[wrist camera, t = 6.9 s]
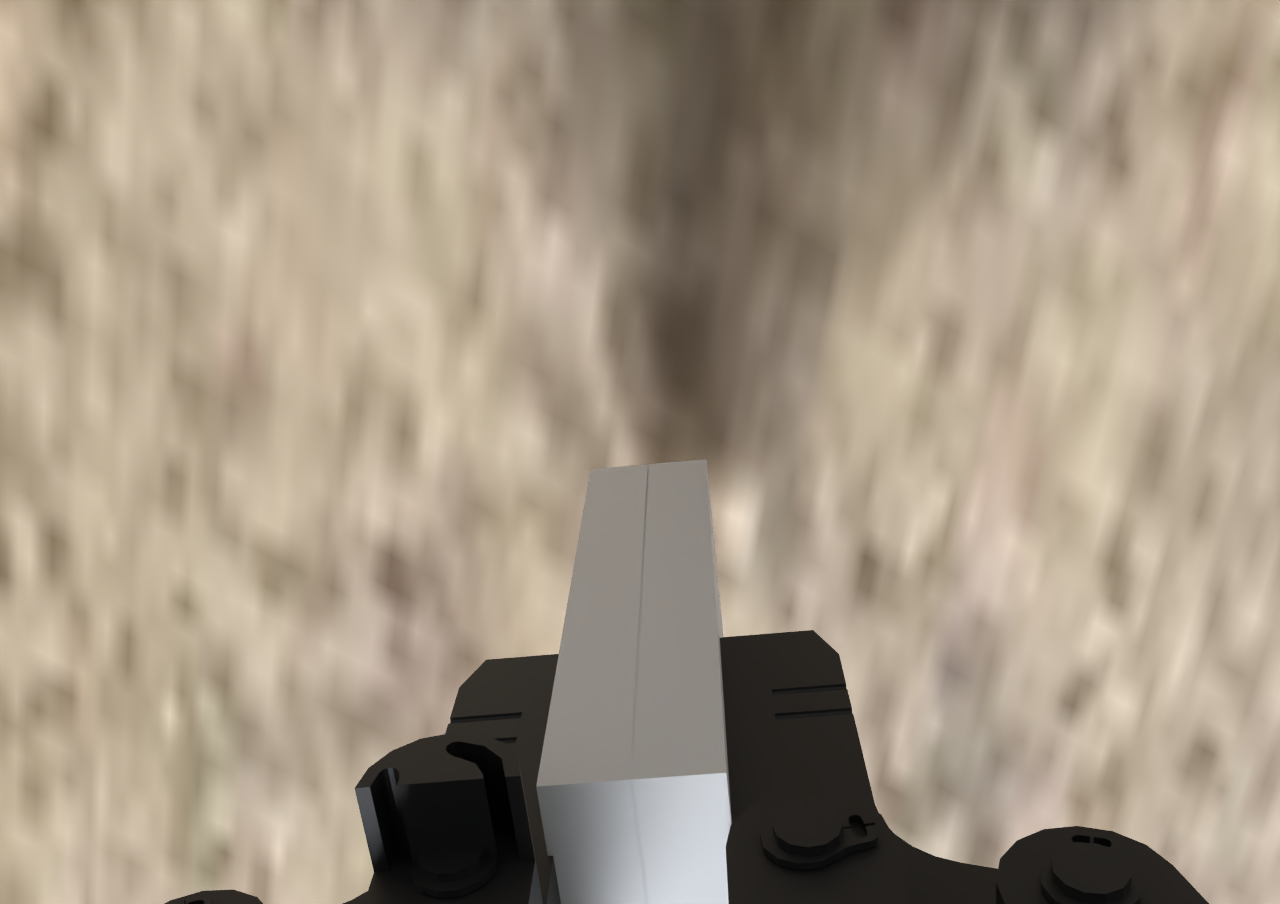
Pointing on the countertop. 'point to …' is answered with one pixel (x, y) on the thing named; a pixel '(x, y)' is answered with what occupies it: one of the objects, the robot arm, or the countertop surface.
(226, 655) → the countertop surface
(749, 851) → the robot arm
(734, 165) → the countertop surface
